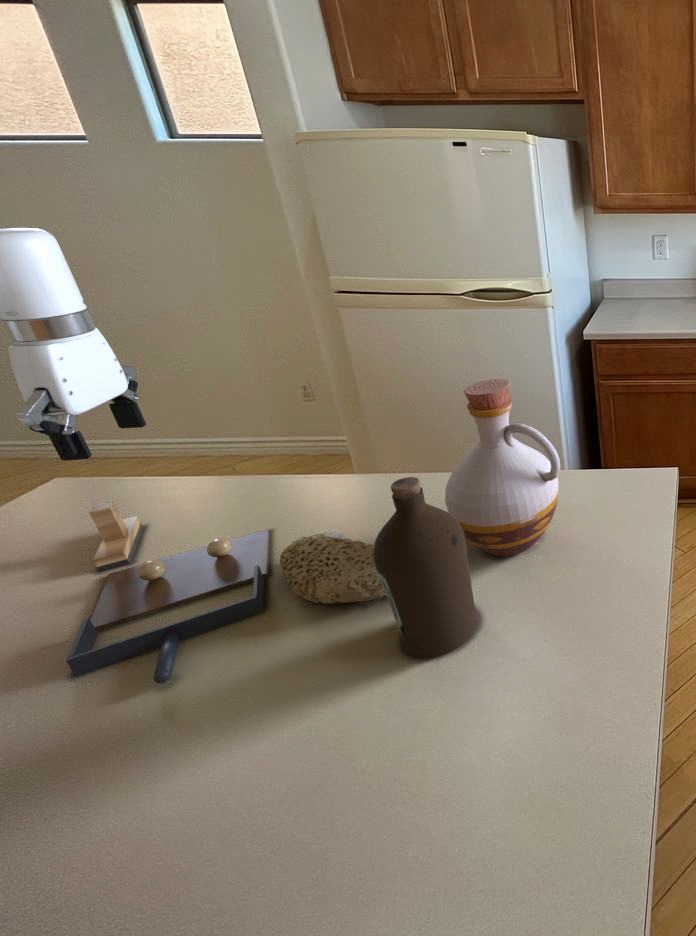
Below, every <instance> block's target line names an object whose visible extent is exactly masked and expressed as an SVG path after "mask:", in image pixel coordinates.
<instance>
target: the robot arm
mask: <svg viewBox="0 0 696 936" xmlns="http://www.w3.org/2000/svg"><path fill="white" fill-rule="evenodd" d="M0 321H1V324H2V326H3V327H4V329H5V332H6V334H7V335H8V337H9V339H10V342H11V345H9V346H8V347H7V349H8V357H9V362H10V366H11V369H12V372H13V375H14V379H15V381H16V383H17V386H18V388H19V391H20V393H21V395H22V398H23V400H24V403H23V405H22V406H21V407H20V408H19V410H18V411H17V412H16V414H15V418H16V419H17V420H18V421H19V422H21V423H22V424H24V425H25V426H27V427H28V429H29V430H30V431H32V432H36V433H38V434H39V433H40V435H41V436H43V437H48V438H49V440H50V442H51V444H52V445H53V448H54V450H55V451H56V453H57V456H58V457H59V459H60V460H61V461H67V462H68V461H80V460H88V459H90V458H92V456H93V454H92V451H91V450H90V448H89V446H88V444H87V441H86V439H85V438H84V436H83V433H82V432H81V431H80V430H75V428H76V424H77V421H78V416H79V415H82V414H84V413H86V412H89V411H90V410H93V409H95V408H97V407H99V406H101V405H103V404H105V403H107V402H109V401H110V403H109V404H108V406H109V409H110V411H111V413H112V416H113V417H114V420H115V422H116V424H117V426H118V428H119V429H134V428H135V429H138V428H144V427H145V426H147V422H146V420H145V417H144V415H143V413H142V411H141V408H140V406H139V403H138V402H137V401H138V400H139V395H138V393H137V390H138V387H139V383H138V381H137V368H136V367H135V366H130V365H124V364H121V363H120V362H119V360H118V358H117V356H116V354H115V353H114V351H113V349H112V347H111V346H110V345H109V343H108V341H107V340H106V338H105V337H104V335H103V334H102V332H101V331H100V330H99V329H98V328H97V327H96V325H95V323H94V320H93V318H92V316H91V313H90V311H89V309H88V306H87V304H86V302H85V300H84V298H83V296H82V294H81V291H80V289H79V287H78V284H77V282H76V280H75V278H74V276H73V273H72V271H71V268H70V266H69V264H68V262H67V260H66V258H65V256H64V253H63V251H62V249H61V246H60V245H59V243H58V240H57V239H56V237H55V236H53V234H51V233H50V232H49V231H47V230H44V229H40V228H34V227H33V228H31V227H30V228H29V227H13V228H12V227H11V228H0ZM58 418H62V421H61V423H59V422H58Z"/></svg>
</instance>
